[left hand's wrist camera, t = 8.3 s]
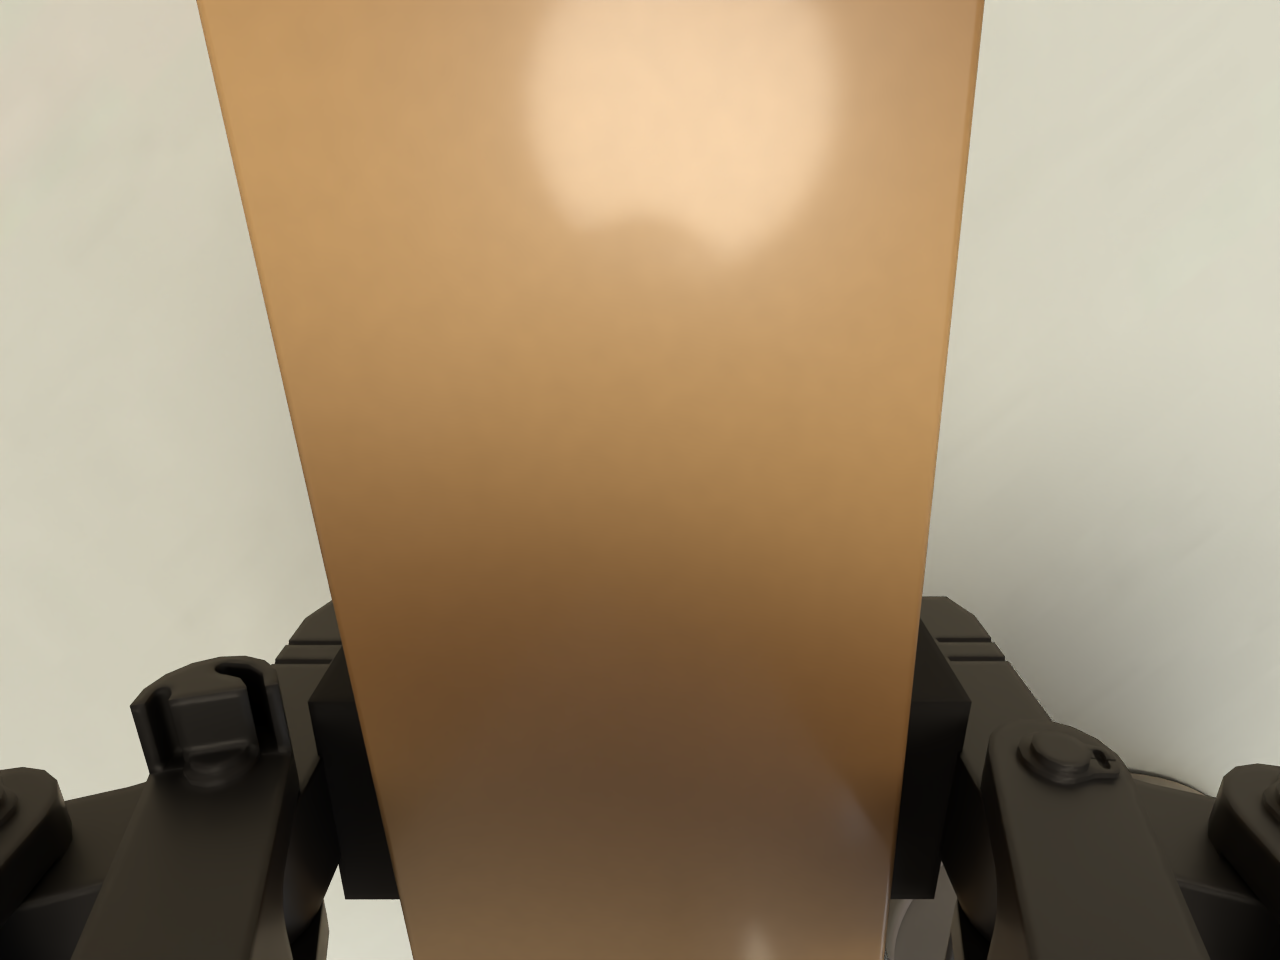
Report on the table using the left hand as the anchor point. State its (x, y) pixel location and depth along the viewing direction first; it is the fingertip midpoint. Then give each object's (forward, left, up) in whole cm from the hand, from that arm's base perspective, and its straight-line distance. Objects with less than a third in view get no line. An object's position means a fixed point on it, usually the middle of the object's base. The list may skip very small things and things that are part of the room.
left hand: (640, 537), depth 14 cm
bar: (+32, +7, -1) cm, 33 cm away
